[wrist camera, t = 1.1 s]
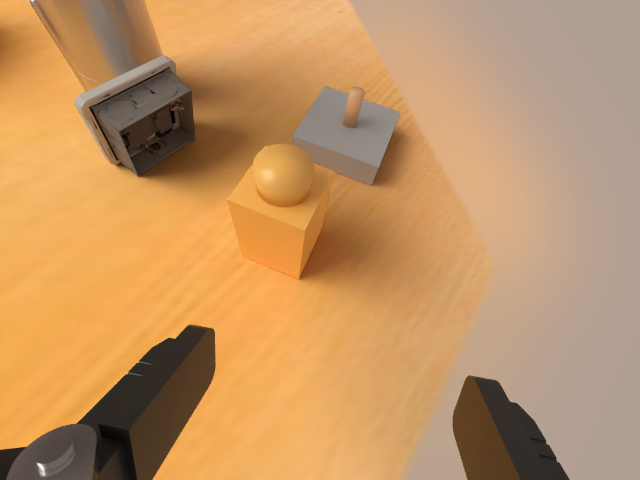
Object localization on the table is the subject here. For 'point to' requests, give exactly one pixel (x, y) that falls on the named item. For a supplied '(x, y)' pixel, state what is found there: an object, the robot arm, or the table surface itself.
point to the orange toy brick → (280, 208)
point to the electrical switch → (140, 115)
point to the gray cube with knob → (346, 133)
